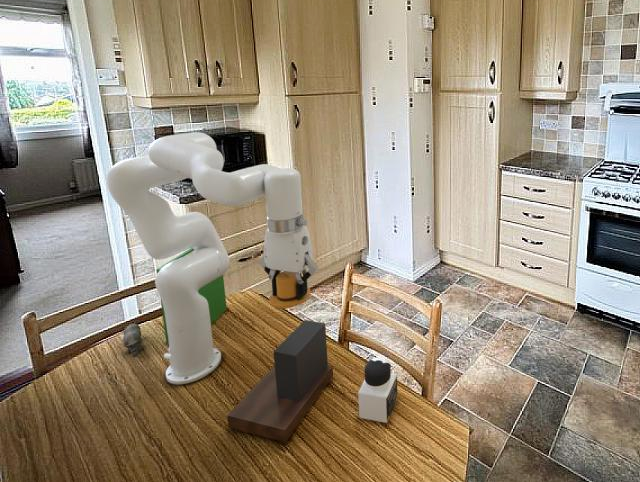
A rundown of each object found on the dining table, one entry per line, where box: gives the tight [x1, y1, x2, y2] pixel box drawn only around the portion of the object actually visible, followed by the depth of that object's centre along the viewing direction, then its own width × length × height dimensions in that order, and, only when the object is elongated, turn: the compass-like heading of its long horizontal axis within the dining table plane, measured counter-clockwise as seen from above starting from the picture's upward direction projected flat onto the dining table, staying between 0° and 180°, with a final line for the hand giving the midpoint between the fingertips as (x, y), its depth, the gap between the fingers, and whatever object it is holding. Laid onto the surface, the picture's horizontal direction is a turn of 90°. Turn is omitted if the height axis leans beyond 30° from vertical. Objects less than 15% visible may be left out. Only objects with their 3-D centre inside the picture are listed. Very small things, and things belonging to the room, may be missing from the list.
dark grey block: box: [273, 319, 329, 401], centre depth 92 cm, size 6×12×12 cm, turn 166°
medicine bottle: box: [357, 356, 399, 424], centre depth 89 cm, size 7×7×12 cm
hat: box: [268, 271, 311, 309], centre depth 88 cm, size 9×9×6 cm
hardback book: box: [156, 248, 228, 345], centre depth 118 cm, size 18×7×24 cm, turn 179°
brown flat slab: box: [226, 364, 334, 444], centre depth 91 cm, size 15×19×4 cm
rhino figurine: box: [122, 323, 143, 358], centre depth 108 cm, size 4×14×6 cm, turn 42°
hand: (290, 293), depth 88 cm, fingers closed on hat, 5 cm apart
